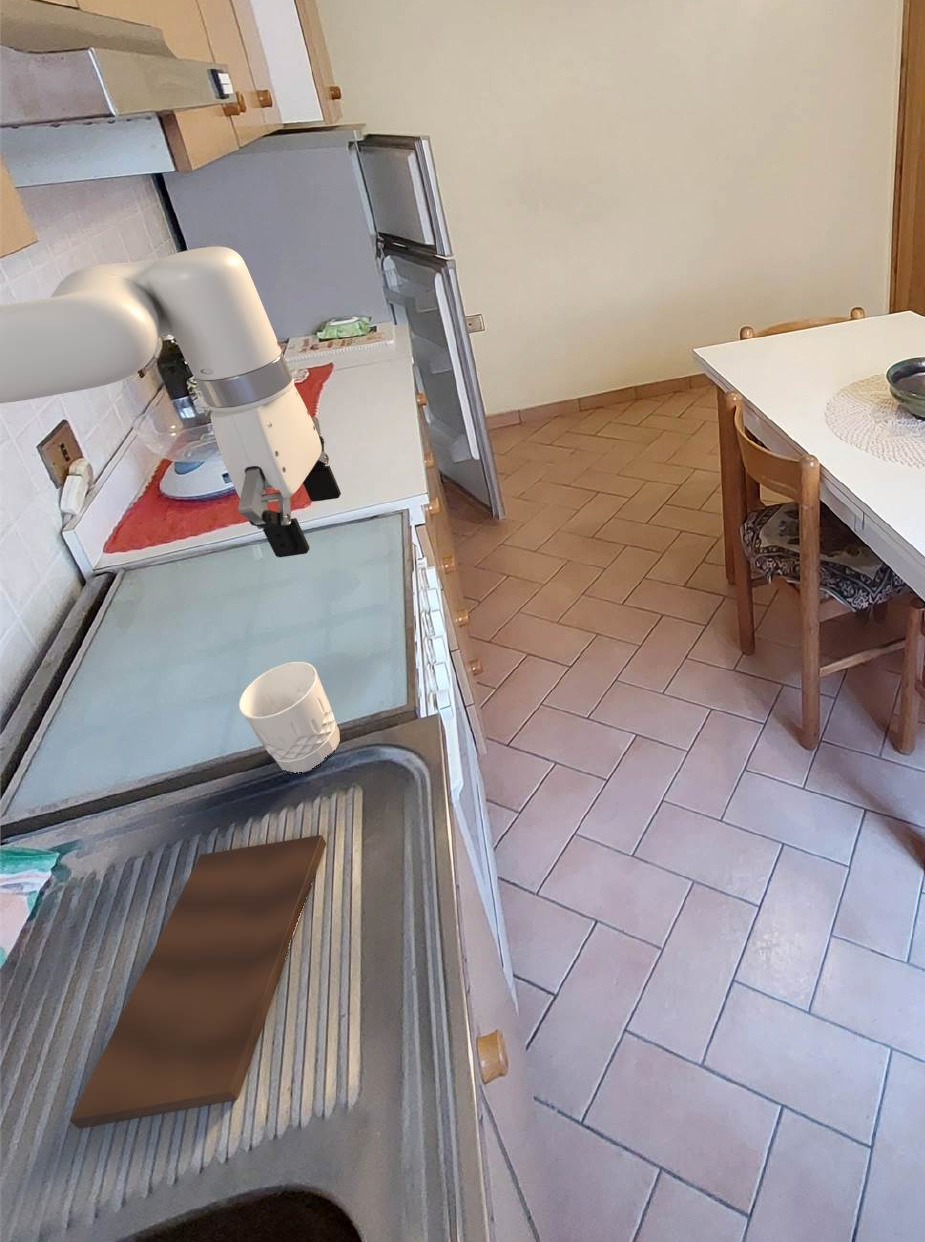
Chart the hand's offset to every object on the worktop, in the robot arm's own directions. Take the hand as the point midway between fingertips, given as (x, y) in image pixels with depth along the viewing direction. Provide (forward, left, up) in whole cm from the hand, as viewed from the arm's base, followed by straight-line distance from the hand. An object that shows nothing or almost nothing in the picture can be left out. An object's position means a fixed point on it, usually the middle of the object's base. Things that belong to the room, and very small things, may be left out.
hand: (311, 524), depth 80 cm
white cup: (-8, -5, -27) cm, 29 cm away
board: (-8, -28, -27) cm, 40 cm away
